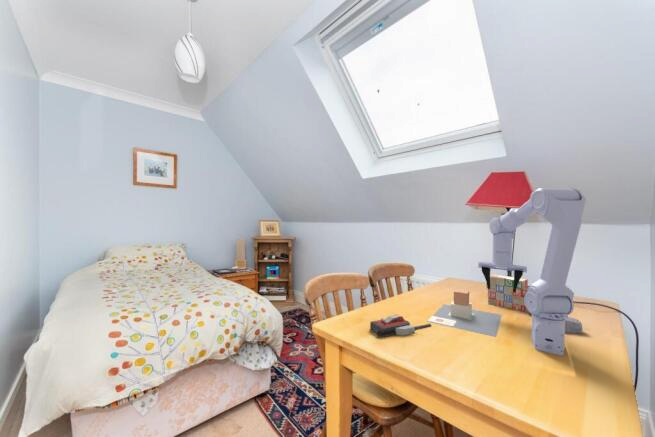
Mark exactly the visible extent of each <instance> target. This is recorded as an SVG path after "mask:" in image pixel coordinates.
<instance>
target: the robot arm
mask: <svg viewBox="0 0 655 437" xmlns="http://www.w3.org/2000/svg"><path fill="white" fill-rule="evenodd" d="M586 201H587V199H586V197H585V196H584V194H583V193H582V192H581V191H580V189H578V188H573V187H571V188H545V187H539V188H537V189H535V190H534V191H533V192H531V194H530V197H529V199H528V200H527V201H526V202H524V203H523V204H522V205H521V206H520V207H519V208H518V207H511V208H510V209H509V211H507V212H505V213H504V214H502V215H501V216H500V217H492V218H491V220H490V222H489V232H490V233H491V234H492V262H489V261H487V262H486V261H479V262H478V266H477V268H479V269H481V273H482V274H483V277H484V278H485V282H486V286H487V290H488V289H490V286H491V285H490V276H491V270H501V271H502V270H503V271H509V272H510V271H511V272H513V277H514V287H513V292H514V293H516V288H517V285H518V282H519V280H520V278H522V277H523V275H524V273H528V266H527V265H520V264H512V259H513V258H512V254H513V252H512V248H513V247H512V246H513V245H512V243H513V241H512V240H514V238H515V233H516V230H517V228H520V226H523V225H524V224H525V223H526V222H528V217H530V216H532V215H534V214H537V213H538V214H539V215H540V217H542V219H544V220H545V221H547V222H549V223H550V224H551V226H552V227H551V230H550V234H549V239H548V244H547V247H546V251H545V257H544V260H543V265H542V269H541V274H540V277H539V279H538V280H536V281H534V282H532V283H531V284H529V290H528V292H527V293H526V294H525V297H524V303H525V306H526V308H527V309H528V311H529V312H530V313H532V315H531V340H530V341H531V343H532V344H533V346H534V350H535V351H536V350H537V351H541V352H545V353H550V354H553V355H557V356H558V355H559V356H565V355H564V353H565V352H564V351H565V347H566V346H565V345H566V344H565V342H566V341H565V340H566V336H565V335H566V333H565V318H568V317H569V315H571V314H572V313H573V312H574V310H575V309H574V308H575V304H574V297H575V296H574V295H575V292H573V291H572V289H570V287H569V286H567V279H568V276H569V272H570V267H571V264H572V262H573V256H574V253H575V248H576V245H577V241H578V238H579V234H580V231H581V230H580V229H581V226H582V216H583V213H584V209H585V206H586ZM529 312H528V313H529Z"/></svg>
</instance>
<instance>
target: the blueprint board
mask: <svg viewBox="0 0 655 437" xmlns="http://www.w3.org/2000/svg"><path fill="white" fill-rule="evenodd" d="M502 315H503V314H500V313H494V312H489V311H488V312H487V311H482V310H477V309H472V314H471V316H470V318H469V319H468V318H463V317H458V316H453V315H451V304H450V305H449V304H445V303H444V304H443V305H442V306H441V307H440V308H438V309H437V311H436V312H435V313H434V314H433V315H431V317H429V318H428V320H427V321H426V322H427V323H429V324H435V325H439V326H445V327H449V328H454V329H457V330H462V331H466V332H472V333H476V334H479V335H484V336H489V337H494V338H497V336H498V331H499V327H500V324H501V319H502Z"/></svg>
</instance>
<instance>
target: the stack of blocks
mask: <svg viewBox="0 0 655 437" xmlns="http://www.w3.org/2000/svg"><path fill="white" fill-rule="evenodd" d="M528 283H529V282H528V279H527V278H522V277H521V278H520V280H519V282H518V285H517V288H516V293H514V292H513V287H514V276H508V275H500V274H490V285H491V286H490V289H488V288H487V290H488V291H487V292H488V293H487V294H488V295H487V297H488V298H487V302H488V303H487V305H488V306H494V307H500V308H506V309H512V310H517V311H521V312H527V313H528V316H529V315H530V316H532V313H530V312H529V311H528V309H527V308H526V306H525V303H524V297H525V294H526V293H527V292H528V290H529V287H530V286H529V284H528ZM528 286H529V287H528Z"/></svg>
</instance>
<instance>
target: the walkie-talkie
mask: <svg viewBox="0 0 655 437" xmlns="http://www.w3.org/2000/svg"><path fill="white" fill-rule="evenodd" d="M429 327H432V323H427V324H421V325H417V326H413V325H411V323H410V321H408V320H407V319H404V317H403V316H401V315H399V314H392V315H388V316H387V317H386V318H383V317H381V318H380V319H379V320H373V321H370V325H369V330H370V332H373V333H374V334H376V335H377V336H379V337H383V338H384V337H387V336H392V335H396V336H408V335H414V334H415V333H416V332H415V331H417V330H421V329H425V328H429Z"/></svg>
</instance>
